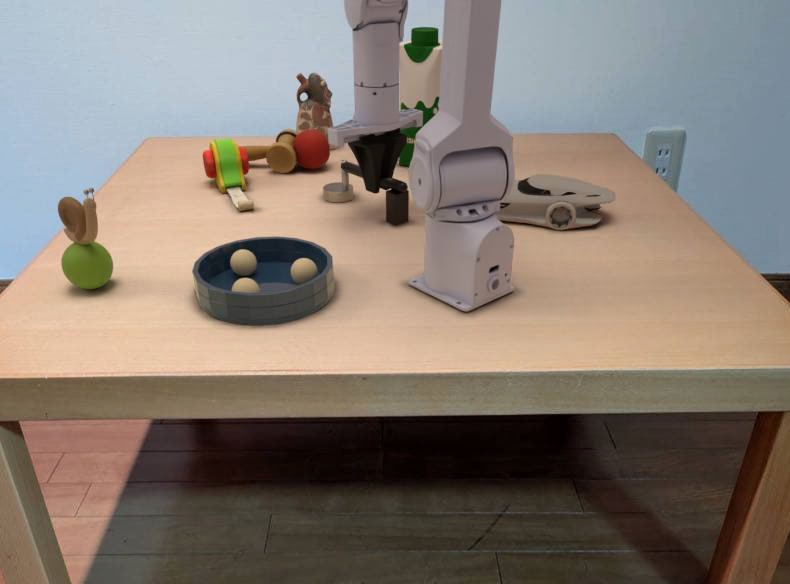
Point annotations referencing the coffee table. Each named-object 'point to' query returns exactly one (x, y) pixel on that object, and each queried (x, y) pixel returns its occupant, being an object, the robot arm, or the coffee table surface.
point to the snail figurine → (83, 244)
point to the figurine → (314, 105)
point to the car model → (554, 202)
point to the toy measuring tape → (228, 170)
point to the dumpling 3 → (303, 270)
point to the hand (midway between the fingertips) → (377, 189)
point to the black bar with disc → (394, 198)
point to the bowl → (263, 281)
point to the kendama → (293, 150)
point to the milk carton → (419, 81)
